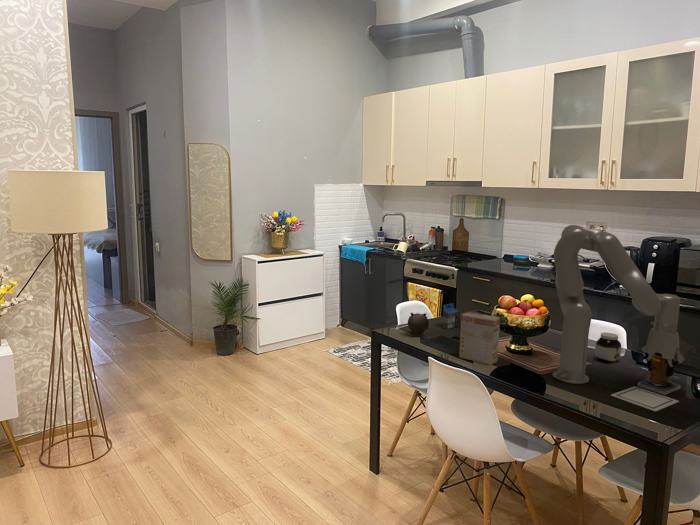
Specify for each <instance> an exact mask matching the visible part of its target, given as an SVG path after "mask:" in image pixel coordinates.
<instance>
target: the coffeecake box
mask: <svg viewBox="0 0 700 525" xmlns="http://www.w3.org/2000/svg"><path fill="white" fill-rule="evenodd" d="M500 323H501V317H499V316H494V315H487V314H483V313H477V312H472V311H466V312H465V313H462V314H461V318H460V337H459V353H458V354H459V356H458V358H460V359H464V360H469V361H473V362H476V363H477V362H478V363H480V364H485V365H490V366H491V365H493V364H495V363H497V362H498V358H499V357H498V356H499V342H500V341H499V340H500V325H501V324H500Z"/></svg>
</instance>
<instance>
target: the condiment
mask: <svg viewBox="0 0 700 525" xmlns="http://www.w3.org/2000/svg"><path fill="white" fill-rule="evenodd" d="M654 354H655V355H654V356H653V357H652V360H651V369H650V371H649V378H645V380H647V381H649V382H651V383H652V384H655V385H656V386H667V385H677V384H678V383H677V384H674V383H675V382H674V383H672V382H673V381H671V382H670V380H669V377H667V376H666V374H667V367H668V366H669V363H668V360H667V359H664V358H662V354H661V353H657V352H655V353H654Z"/></svg>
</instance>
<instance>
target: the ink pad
mask: <svg viewBox="0 0 700 525" xmlns="http://www.w3.org/2000/svg"><path fill="white" fill-rule="evenodd" d="M669 381H670V380H669ZM670 382H672V383H674V384H677V385H667V386H656V385H655V384H652V383H651V382H649V381H647V380H646V379H644V380H641V381H639V382H637V385H636V387H638V388H641V389H644V390H647V391H650V392H653V393H656V394H660V395H663V396H666V395H668V394H670V393H673V392H676V391H678V390H681V388H682V386H681V385H680V384H679V383H676V382H673V381H670Z"/></svg>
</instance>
